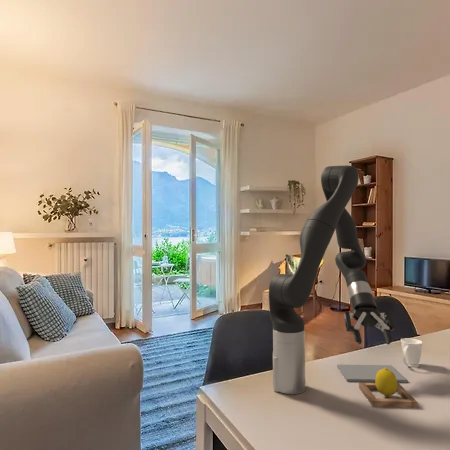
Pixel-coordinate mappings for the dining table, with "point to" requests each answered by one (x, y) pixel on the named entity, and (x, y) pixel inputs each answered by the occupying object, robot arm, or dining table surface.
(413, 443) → the dining table surface
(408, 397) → the square seat
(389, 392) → the lemon
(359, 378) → the mat
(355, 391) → the dining table surface
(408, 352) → the cup
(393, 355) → the dining table surface
